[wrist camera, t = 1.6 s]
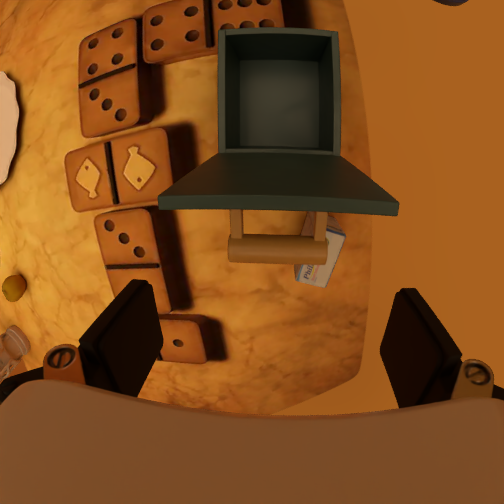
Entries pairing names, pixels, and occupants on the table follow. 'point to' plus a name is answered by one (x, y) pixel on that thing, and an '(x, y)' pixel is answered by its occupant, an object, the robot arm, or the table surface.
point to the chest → (279, 91)
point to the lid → (278, 199)
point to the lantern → (12, 349)
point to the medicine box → (322, 273)
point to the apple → (14, 288)
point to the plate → (7, 124)
